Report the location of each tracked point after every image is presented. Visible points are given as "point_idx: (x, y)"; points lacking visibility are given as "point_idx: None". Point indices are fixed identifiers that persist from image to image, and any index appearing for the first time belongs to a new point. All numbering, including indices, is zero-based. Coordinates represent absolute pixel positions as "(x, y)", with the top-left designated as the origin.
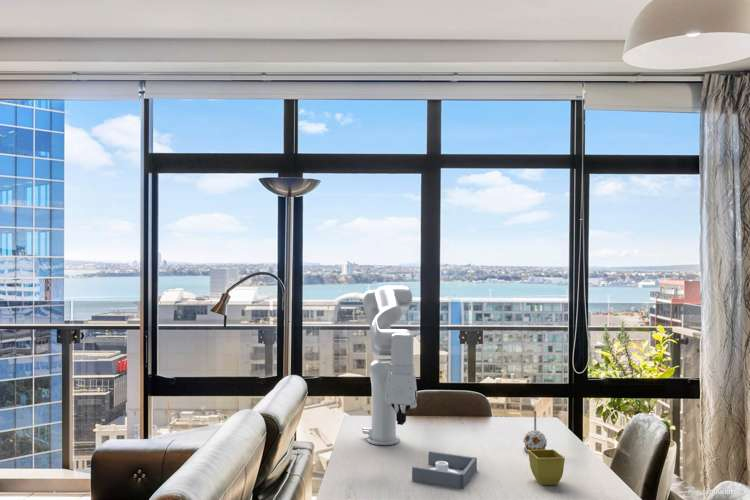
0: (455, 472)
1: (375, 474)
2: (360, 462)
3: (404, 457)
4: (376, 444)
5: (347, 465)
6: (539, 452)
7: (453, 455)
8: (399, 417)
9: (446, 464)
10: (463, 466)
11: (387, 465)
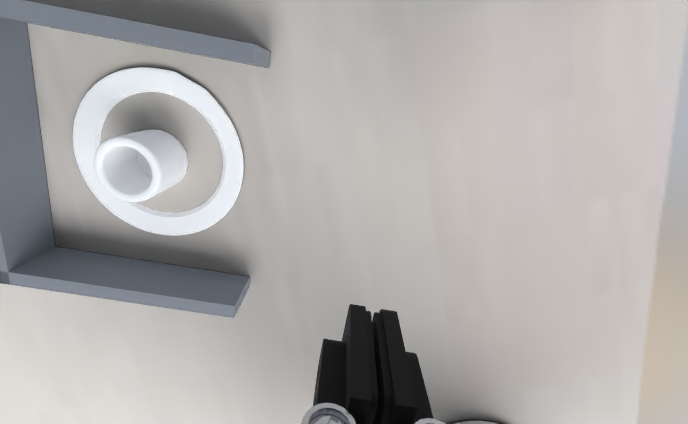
0: (107, 195)
1: (457, 88)
2: (541, 226)
3: None
4: (491, 422)
5: (600, 174)
6: None
7: (107, 287)
8: (380, 359)
9: (96, 154)
10: (89, 258)
11: (416, 218)
